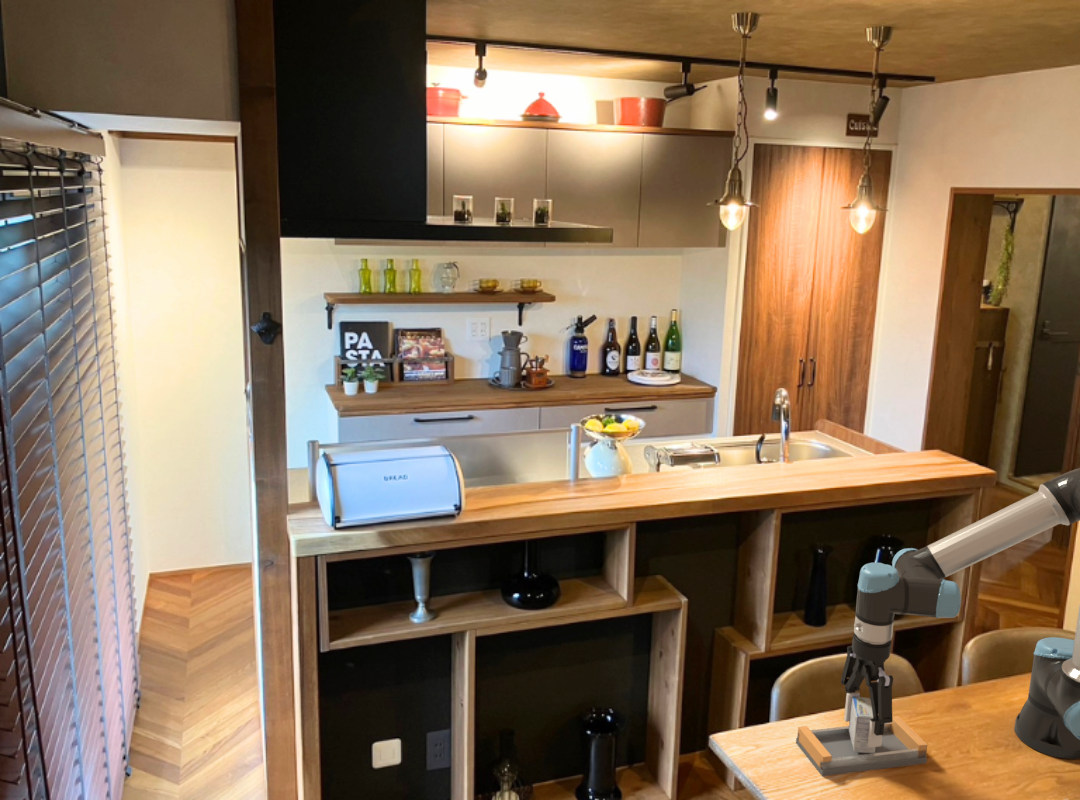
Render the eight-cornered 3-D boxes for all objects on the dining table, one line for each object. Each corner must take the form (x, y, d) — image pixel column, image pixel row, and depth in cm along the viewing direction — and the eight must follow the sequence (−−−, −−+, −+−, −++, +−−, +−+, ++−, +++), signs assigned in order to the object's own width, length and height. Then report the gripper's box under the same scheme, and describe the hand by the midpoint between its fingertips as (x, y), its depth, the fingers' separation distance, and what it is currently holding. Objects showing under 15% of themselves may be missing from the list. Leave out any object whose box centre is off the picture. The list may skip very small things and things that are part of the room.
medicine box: (875, 755, 187) (879, 718, 185) (852, 752, 188) (856, 715, 186) (869, 733, 195) (873, 697, 193) (847, 730, 195) (851, 695, 193)
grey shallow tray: (895, 731, 200) (896, 714, 199) (926, 763, 189) (928, 745, 188) (795, 742, 195) (797, 725, 194) (822, 776, 184) (823, 758, 183)
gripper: (829, 614, 195) (821, 706, 200) (885, 664, 175) (873, 765, 180) (861, 611, 197) (851, 703, 202) (919, 661, 176) (907, 761, 181)
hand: (862, 732), depth 191 cm, fingers closed on medicine box, 9 cm apart
